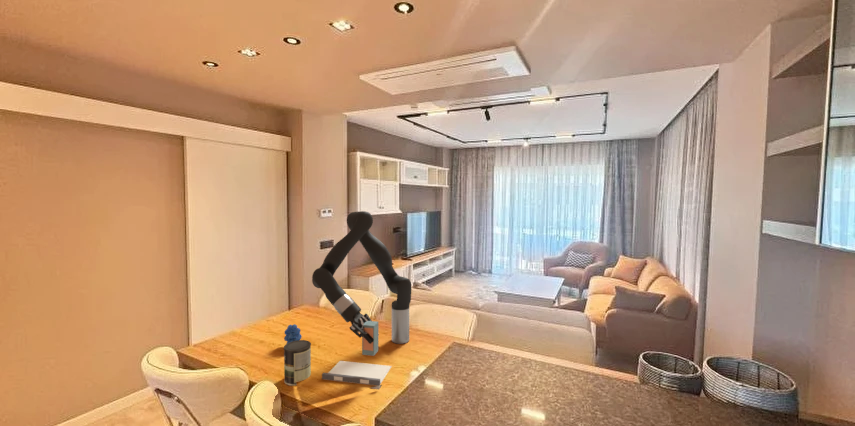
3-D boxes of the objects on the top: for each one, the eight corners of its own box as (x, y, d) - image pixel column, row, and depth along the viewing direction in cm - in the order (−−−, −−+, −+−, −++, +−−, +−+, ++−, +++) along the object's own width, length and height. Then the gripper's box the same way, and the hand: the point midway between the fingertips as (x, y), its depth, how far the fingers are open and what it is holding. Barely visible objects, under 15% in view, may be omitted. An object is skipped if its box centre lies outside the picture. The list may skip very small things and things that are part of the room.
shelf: (340, 364, 152) (340, 356, 152) (391, 369, 147) (391, 361, 147) (321, 382, 136) (321, 374, 136) (379, 389, 131) (379, 380, 131)
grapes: (308, 347, 169) (307, 323, 168) (296, 352, 163) (296, 327, 163) (292, 342, 175) (292, 319, 174) (280, 347, 169) (280, 323, 169)
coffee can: (280, 386, 133) (280, 351, 133) (288, 373, 143) (288, 340, 143) (307, 385, 134) (307, 350, 134) (313, 372, 144) (313, 339, 144)
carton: (366, 349, 141) (366, 320, 141) (378, 350, 140) (378, 321, 140) (362, 354, 136) (362, 324, 136) (373, 355, 135) (374, 325, 135)
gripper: (345, 307, 132) (374, 340, 130) (360, 297, 146) (386, 327, 144) (332, 319, 133) (361, 352, 131) (348, 308, 147) (374, 338, 145)
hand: (374, 339), depth 138 cm, fingers closed on carton, 5 cm apart
